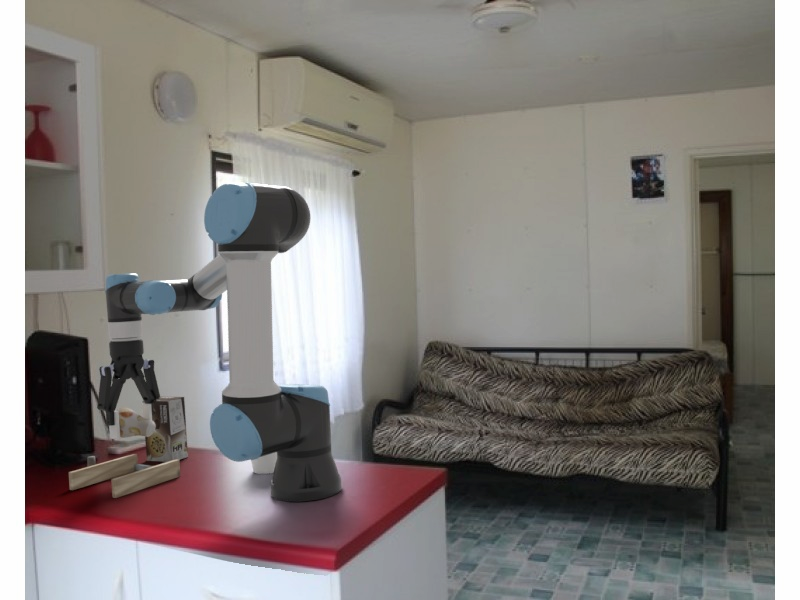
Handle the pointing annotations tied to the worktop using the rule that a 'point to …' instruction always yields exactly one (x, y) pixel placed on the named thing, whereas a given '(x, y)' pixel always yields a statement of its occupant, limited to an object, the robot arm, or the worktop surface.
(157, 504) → the worktop surface
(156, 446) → the cookie box
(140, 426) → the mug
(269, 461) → the cup
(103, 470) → the bay
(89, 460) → the crank handle
